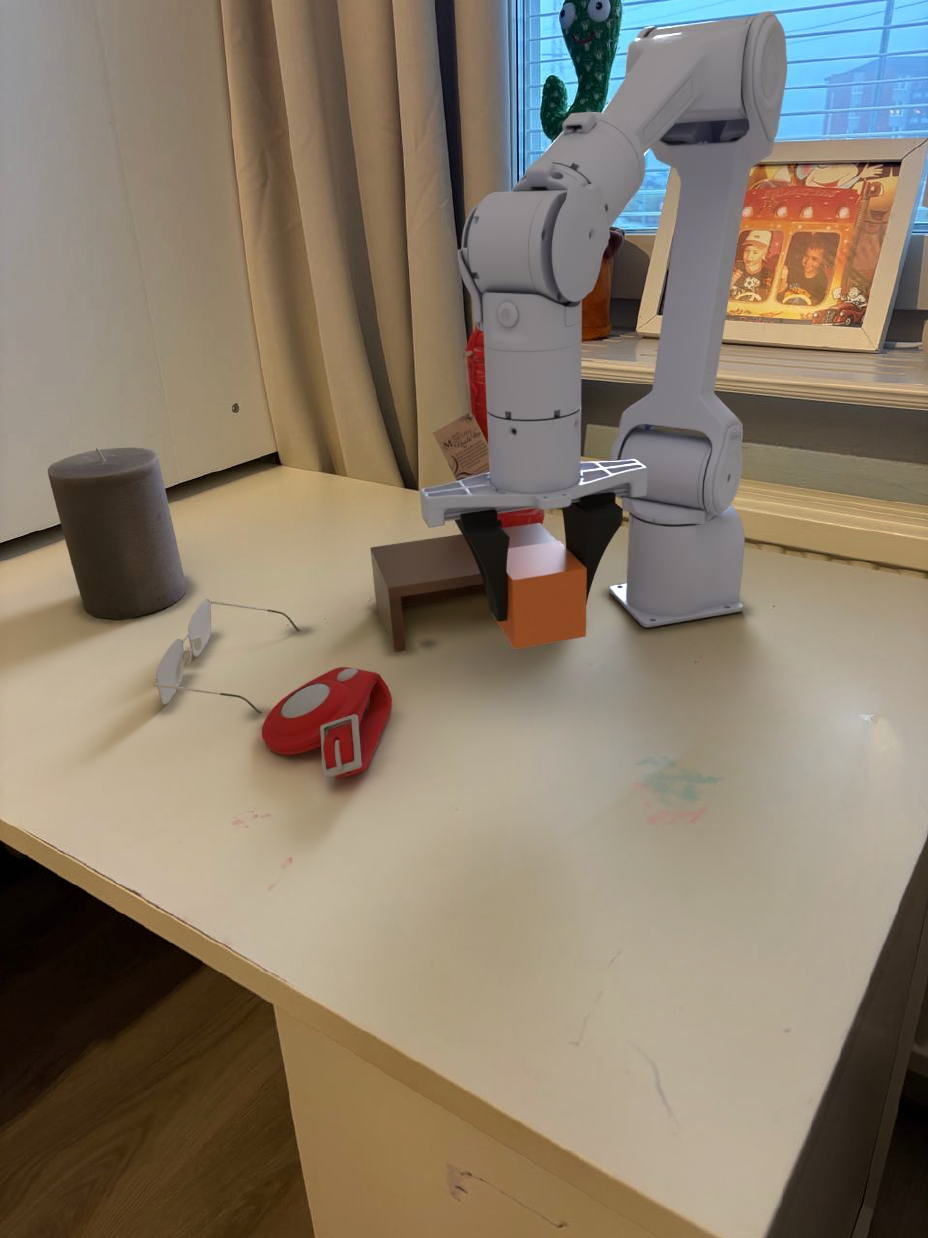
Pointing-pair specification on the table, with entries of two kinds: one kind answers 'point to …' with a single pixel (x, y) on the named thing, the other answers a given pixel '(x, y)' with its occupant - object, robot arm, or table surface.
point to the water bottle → (476, 432)
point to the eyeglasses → (174, 657)
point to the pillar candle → (118, 531)
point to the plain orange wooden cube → (544, 595)
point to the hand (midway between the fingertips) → (537, 608)
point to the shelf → (432, 573)
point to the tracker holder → (332, 720)
